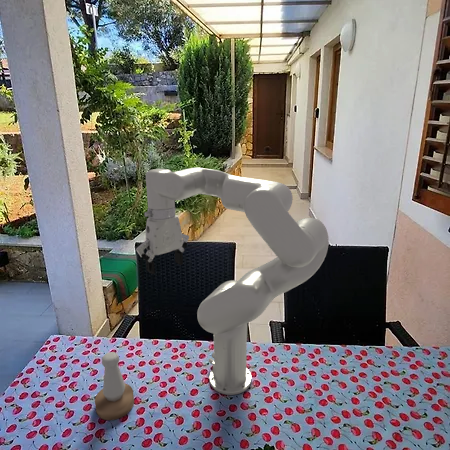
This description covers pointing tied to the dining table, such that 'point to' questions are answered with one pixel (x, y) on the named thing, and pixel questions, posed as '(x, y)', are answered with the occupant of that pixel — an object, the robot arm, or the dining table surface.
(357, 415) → the dining table surface
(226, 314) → the robot arm
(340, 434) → the dining table surface
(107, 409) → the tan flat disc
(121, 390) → the salt shaker
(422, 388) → the dining table surface
